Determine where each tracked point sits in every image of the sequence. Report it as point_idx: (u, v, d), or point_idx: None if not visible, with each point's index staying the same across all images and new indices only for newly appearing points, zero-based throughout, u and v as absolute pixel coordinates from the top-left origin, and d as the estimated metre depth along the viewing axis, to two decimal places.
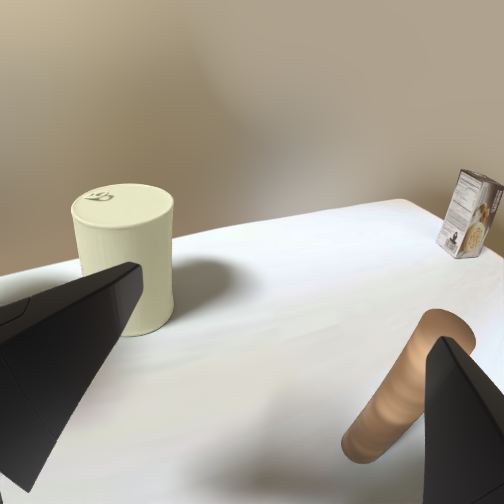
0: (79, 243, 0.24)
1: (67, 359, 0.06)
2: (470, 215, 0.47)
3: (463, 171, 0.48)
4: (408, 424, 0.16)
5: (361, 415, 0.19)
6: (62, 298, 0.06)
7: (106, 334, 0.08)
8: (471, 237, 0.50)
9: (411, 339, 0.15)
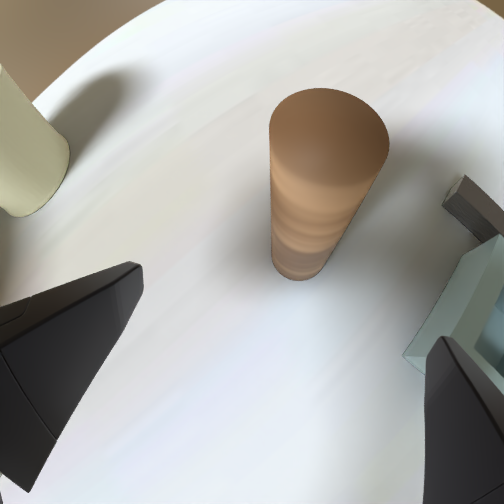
0: None
1: (67, 359, 0.06)
2: None
3: None
4: (325, 250, 0.15)
5: None
6: (62, 298, 0.06)
7: (106, 334, 0.08)
8: None
9: None
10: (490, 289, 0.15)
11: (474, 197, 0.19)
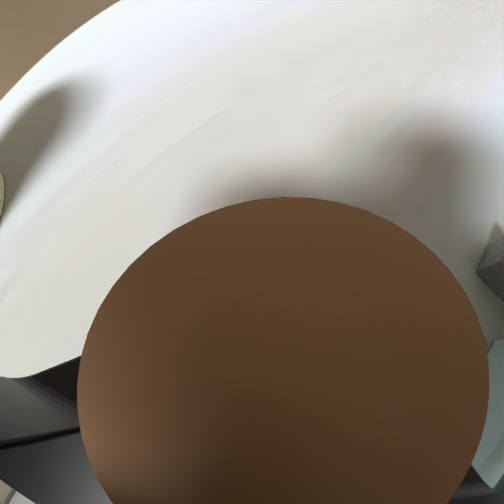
0: None
1: None
2: None
3: None
4: None
5: None
6: None
7: None
8: None
9: None
10: None
11: None
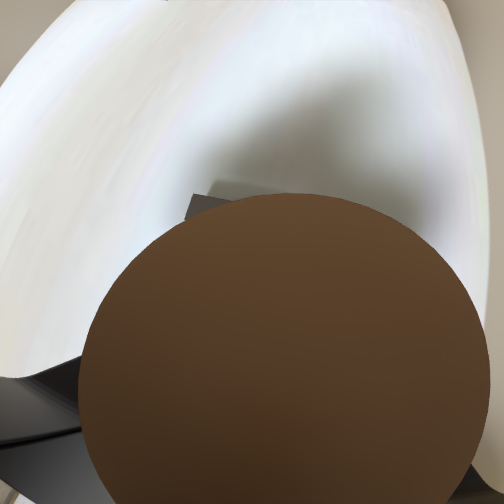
0: None
1: None
2: None
3: None
4: None
5: None
6: None
7: None
8: None
9: None
10: None
11: None
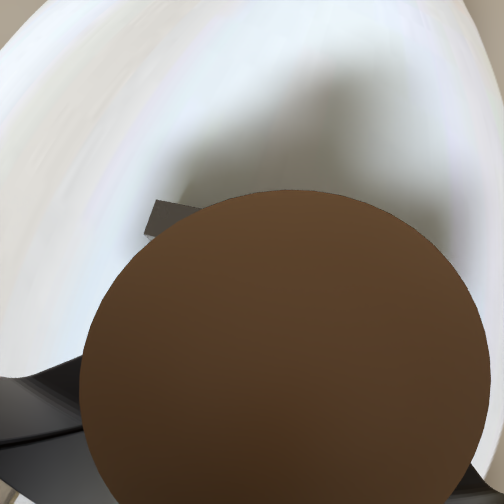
0: None
1: None
2: None
3: None
4: None
5: None
6: None
7: None
8: None
9: None
10: None
11: None
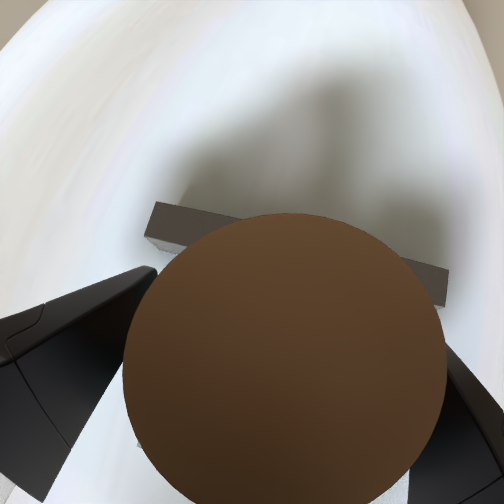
0: None
1: (83, 367, 0.06)
2: None
3: None
4: None
5: None
6: (78, 305, 0.06)
7: (122, 340, 0.08)
8: None
9: None
10: None
11: (173, 228, 0.16)
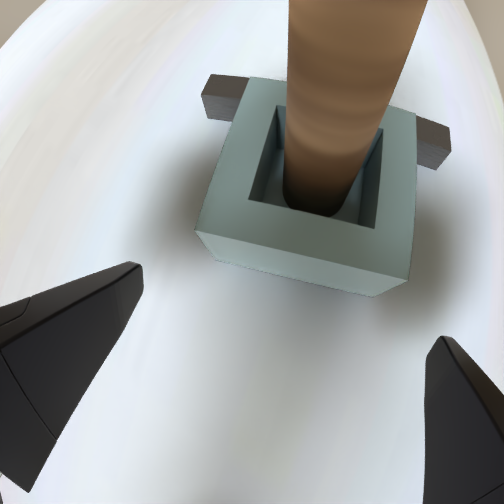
0: None
1: (67, 359, 0.06)
2: None
3: None
4: (354, 154, 0.11)
5: (284, 147, 0.14)
6: (62, 298, 0.06)
7: (106, 334, 0.08)
8: None
9: None
10: (251, 130, 0.14)
11: (227, 88, 0.18)
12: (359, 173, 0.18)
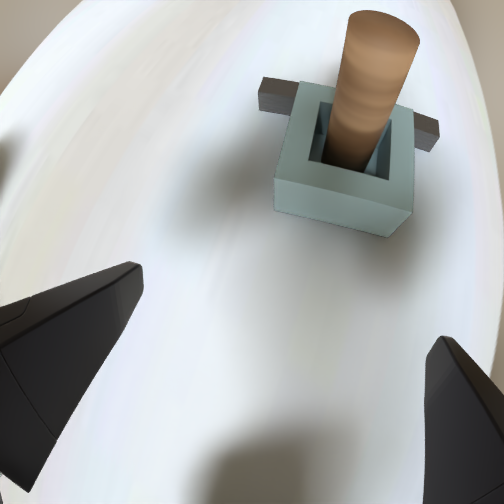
0: None
1: (67, 359, 0.06)
2: None
3: None
4: (375, 132, 0.17)
5: (328, 129, 0.20)
6: (62, 298, 0.06)
7: (106, 334, 0.08)
8: None
9: (345, 41, 0.13)
10: (305, 117, 0.21)
11: (277, 88, 0.25)
12: (374, 152, 0.24)
